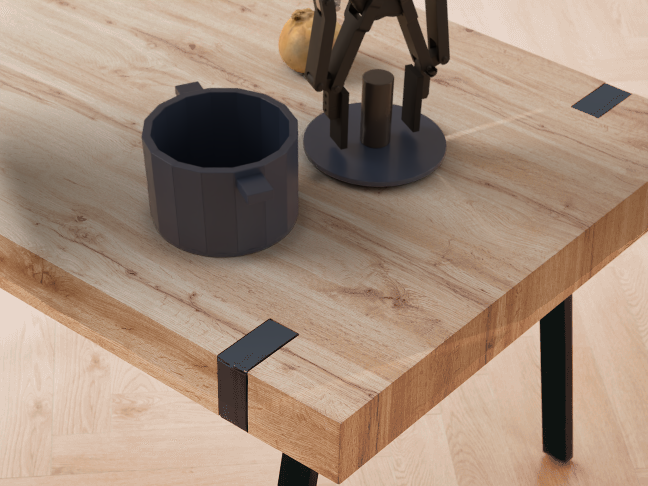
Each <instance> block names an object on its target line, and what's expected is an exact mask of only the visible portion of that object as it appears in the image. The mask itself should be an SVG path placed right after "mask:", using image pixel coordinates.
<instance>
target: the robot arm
mask: <svg viewBox="0 0 648 486" xmlns="http://www.w3.org/2000/svg"><path fill="white" fill-rule="evenodd" d="M312 1H313V8H314V10H313V11H314V17H313V23H312V29H311V36H310V42H309V49H308V55H307V61H306V68H305V73H303V74H304V75H303V77H304V79H305V80H306V82H307V83H308V84H309V85H310V86H311V87H312V89H313V90H314V91H315V92H317V93H321V92H322V112H324V113H325V115H326V116H327V117H328V118H329V119H330V137H331V138H332V140H333V141H334V142H335V143H336V144H337V146H338V147H339V148H340V149H341V150H342V149H346V148H348V118H349V104H350V91H349V90H348V89H347V88H346V86H344V85H345V83H346V81H347V78H348V77H349V73H350V70H351V69H352V67H353V64H354V62H355V59H356V57H357V55H358V52H359V50H360V47H361V45H362V44H363V43H362V42H363V40H364V37H365V35H366V33H369V32H370V31H371V29H372V26H373V24H374V22H375V21H380V20H381V19H384V18H387V17H389V18H395V17H396V19H397V22H398V25H399V27H400V30H401V32H402V36H403V39H404V41H405V44H406V47H407V49H408V53H409V55H410V57H411V60H412V62H413V64H412V63H408V64H405V65H404V73H403V88H402V89H403V91H402V104H401V106H402V116H401V120H402V121H403V122H404V123H405V124H406V125H407V126H408V128H409V129H410V130H411V131H412V132H418V131H419V130H420V118H421V114H422V105H423V100H426V99H428V97H429V95H430V85H431V78H435V77H436V76H437V74H438V68H437V66H439V65H442V66H444V65H447V64H448V63H449V62H450V60H451V56H450V55H451V54H450V53H451V52H450V33H449V32H450V29H449V12H448V11H449V10H448V0H424V9H425V22H426V23H425V24H426V38H427V39H425V36H424V34H423V31H422V27H421V25H420V22H419V14H418V12H417V9H416V5H415V3H414V0H347V1H348V2H347V4H346V6H345V9H344V12H343V21H342V24H341V29H340V31H339V34H338V36H337V39H336V41H335V44H334V46H333V40H334V34H335V28H336V21H337V19H338V17H337V12H339V11H340V10H341V1H342V0H312ZM337 22H338V21H337ZM426 41H427V42H426ZM332 46H333V49H332Z"/></svg>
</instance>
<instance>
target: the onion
mask: <svg viewBox="0 0 648 486" xmlns="http://www.w3.org/2000/svg"><path fill="white" fill-rule="evenodd" d="M313 17H314V10H313V9H311V8H310V7H305V8H302V9H300V8H297V9H295V10H294V11H293V12H292V13H291V16H290V18H289V19H288V20H287V21H286V22H285V23H284V25H283V27H282V29H281V32H280V34H279V37H278V44H277V45H278V46H277V47H278V48H277V49H278V53H279V55H280V58H281V60H282V61H283V62H284V63H285V65H286V66H287V67H288V68H289V69H291V70H293V71H294V72H296V73H301V74H305V68H306V61H307V55H308V49H309V42H310V36H311V29H312V23H313ZM341 26H342V24H340V22H339V21H336V28H335V34H334V40H333V46H334V44H335V41H336V39H337V36H338V34H339V31H340V29H341ZM333 46H332V49H333Z"/></svg>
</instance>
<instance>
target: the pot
mask: <svg viewBox="0 0 648 486" xmlns="http://www.w3.org/2000/svg"><path fill="white" fill-rule="evenodd" d="M174 91H175V96H173V97H171V98H169V99H166V100H165V101H163V102H161V103H159V104H158V105H157V106H155V107H154V109H153V110H152V111H151V112H150V113H149V114H148V115H147V116H146V117H145V118H144V120H143V125H142V130H141V144H142V145H141V146H142V153H143V154H142V155H143V162H144V168H145V169H144V170H145V171H144V172H145V178H146V187H147V195H148V203H149V211H150V217H151V219H152V222H153V223H152V224H153V226H154V228H155V229H156V231H157V233H158V235H160V236H161V237H162V239H163V240H165V241H166V242H168V244H170V245H172V246H174V247H176V248H177V249H179V250H181V251H184V252H187V253H191V254H194V255H197V256H198V255H199V256H203V257H210V258H234V257H241V256H246V255H250V254H251V255H252V254H255V253H258V252H261V251H264V250H266V249H268V248H270V247H272V246H274V245H275V244H277V243H279V242H280V241H282V240H283V239H284V238H285V237H286V236H287V235H289V234H290V232H291V231H292V230H293V228H294V227H295V225H296V223H297V220H298V217H299V120H298V118H296V116H295V114H294V113H293V112H292V111H291V110H290V108H289V107H288V106H287V105H286V104H285V103H283V102H281V101H279V100H277V99H276V98H273V97H272V96H270V95H268V94H266V93H262V92H258V91H253V90H250V89H245V88H240V87H207V88H203V86H202V85H201V83H200V82H199V81H198V80H197V81H192V82H187V83H182V84H178V85H177V84H176V85H174Z"/></svg>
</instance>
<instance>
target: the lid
mask: <svg viewBox="0 0 648 486" xmlns="http://www.w3.org/2000/svg"><path fill="white" fill-rule="evenodd" d="M361 78H362V79H361V99H360V100H361V102H353V103H349V118H348V148H346V149H342V150H341V149H340V148H339V147H338V146H337V144H336V143H335V142H334V141H333V140H332V138H331V137H330V119H329V118H328V117H327V116H326V115H325V113H324V111H322V113H320V114H318V115H317V116H316V117H314V118H313V119H312V120H311V121H310V122H309V123H308V124H307V126H306V128H305V130H304V133H303V135H302V136H303V139H302V146H303V151H304V153H305V156H306V158H307V159H308V161H309V162H310V163H311V164H312V165H313V166H314V167H315V168H317V170H319V171H320V172H322V173H324V174H325V175H327V176H329V177H331V178H333V179H336V180H338V181H341V182H344V183H348V184H351V185H356V186H363V187H373V188H374V187H375V188H376V187H377V188H381V187H382V188H386V187H395V186H402V185H407V184H410V183H415V182H416V181H419V180H421V179H424V178H426V177H427V176H429V175H431V174H432V173H433V172H435V171H436V170H437V169H438V168H439V167H440V166H441V164H442V163H443V161H444V159H445V157H446V153H447V147H448V146H447V145H448V144H447V139H446V135H445V133H444V132H443V130H442V129H441V127H440V126H439V125H438V124H437V123H436V122H435V121H434V120H432V119H431V118H430V117H428V116H427V115H425V114H424V113H421V118H420V130H419V131H418V132H412V131H411V130H410V129H409V128H408V126H407V125H406V124H405V123H404V122H403V121H402V120H401V116H402V105H398V104H395V103H394V91H395V75H394V74H393V73H392V72H390V71H389V70H386V69H383V68H373V69H372V68H371V69H368V70H366V71H365V72H364V73H363V74H362V77H361Z"/></svg>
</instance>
